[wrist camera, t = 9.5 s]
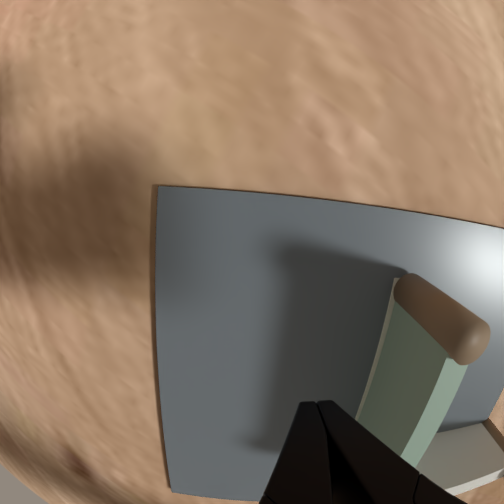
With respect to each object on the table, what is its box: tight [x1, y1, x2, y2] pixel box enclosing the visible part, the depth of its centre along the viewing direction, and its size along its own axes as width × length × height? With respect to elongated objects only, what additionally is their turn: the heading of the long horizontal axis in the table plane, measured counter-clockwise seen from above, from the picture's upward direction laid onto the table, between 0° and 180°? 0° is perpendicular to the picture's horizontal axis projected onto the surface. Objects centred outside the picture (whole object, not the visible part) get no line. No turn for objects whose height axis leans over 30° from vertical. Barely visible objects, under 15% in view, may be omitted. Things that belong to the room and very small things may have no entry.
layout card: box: [155, 186, 504, 501], centre depth 15 cm, size 22×20×1 cm
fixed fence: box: [415, 418, 504, 495], centre depth 13 cm, size 10×2×6 cm, turn 85°
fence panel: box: [358, 273, 491, 468], centre depth 12 cm, size 12×2×5 cm, turn 174°
